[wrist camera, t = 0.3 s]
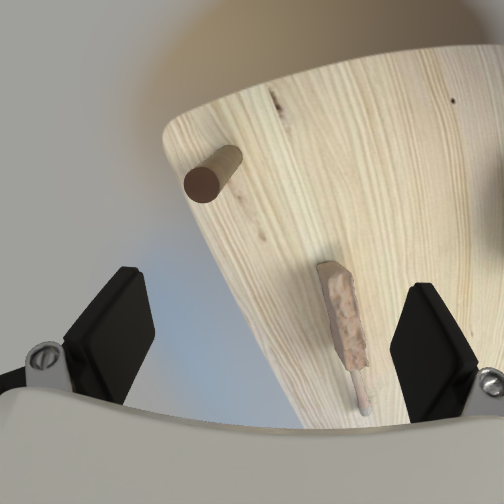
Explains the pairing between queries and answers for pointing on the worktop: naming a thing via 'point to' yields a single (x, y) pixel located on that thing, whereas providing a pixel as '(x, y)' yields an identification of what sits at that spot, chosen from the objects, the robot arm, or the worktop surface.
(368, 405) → the tan handled block
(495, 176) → the worktop surface
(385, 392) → the worktop surface
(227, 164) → the stick
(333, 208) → the worktop surface
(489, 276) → the worktop surface
